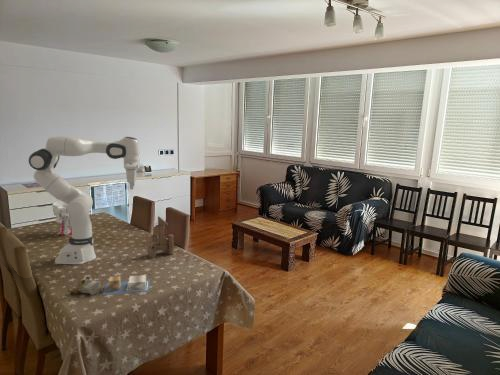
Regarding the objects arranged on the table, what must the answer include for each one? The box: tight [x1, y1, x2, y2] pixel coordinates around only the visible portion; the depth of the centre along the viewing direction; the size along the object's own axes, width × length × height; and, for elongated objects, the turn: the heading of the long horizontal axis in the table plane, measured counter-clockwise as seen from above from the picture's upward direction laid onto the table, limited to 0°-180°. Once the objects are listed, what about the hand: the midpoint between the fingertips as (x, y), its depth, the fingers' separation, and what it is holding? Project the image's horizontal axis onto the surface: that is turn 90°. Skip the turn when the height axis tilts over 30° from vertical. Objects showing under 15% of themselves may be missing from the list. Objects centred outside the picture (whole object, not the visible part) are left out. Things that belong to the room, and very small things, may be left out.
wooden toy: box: [146, 215, 174, 259], centre depth 227 cm, size 16×7×25 cm, turn 122°
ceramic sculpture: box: [67, 276, 101, 296], centre depth 176 cm, size 11×9×15 cm
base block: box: [128, 274, 147, 290], centre depth 183 cm, size 8×8×4 cm
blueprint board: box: [101, 279, 151, 296], centre depth 182 cm, size 22×14×1 cm, turn 103°
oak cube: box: [108, 275, 122, 290], centre depth 180 cm, size 5×5×5 cm
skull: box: [52, 200, 72, 237], centre depth 259 cm, size 25×19×23 cm
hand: (132, 187), depth 212 cm, fingers open, 8 cm apart
